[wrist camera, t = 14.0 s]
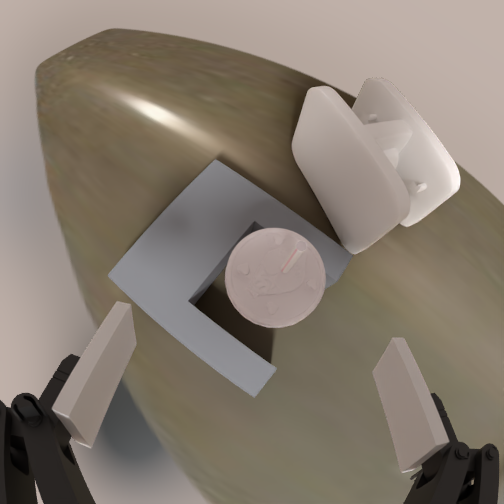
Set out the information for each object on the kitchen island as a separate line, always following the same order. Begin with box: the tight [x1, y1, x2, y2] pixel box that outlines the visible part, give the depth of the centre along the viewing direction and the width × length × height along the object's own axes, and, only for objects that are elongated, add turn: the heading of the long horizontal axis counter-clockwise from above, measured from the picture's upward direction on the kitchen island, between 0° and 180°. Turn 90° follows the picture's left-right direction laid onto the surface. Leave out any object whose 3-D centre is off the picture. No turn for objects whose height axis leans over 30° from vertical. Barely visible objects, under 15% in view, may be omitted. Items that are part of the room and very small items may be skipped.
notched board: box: [108, 159, 353, 398], centre depth 26 cm, size 16×15×4 cm
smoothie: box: [225, 228, 326, 328], centre depth 20 cm, size 6×6×14 cm
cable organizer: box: [292, 78, 460, 254], centre depth 26 cm, size 15×11×12 cm
